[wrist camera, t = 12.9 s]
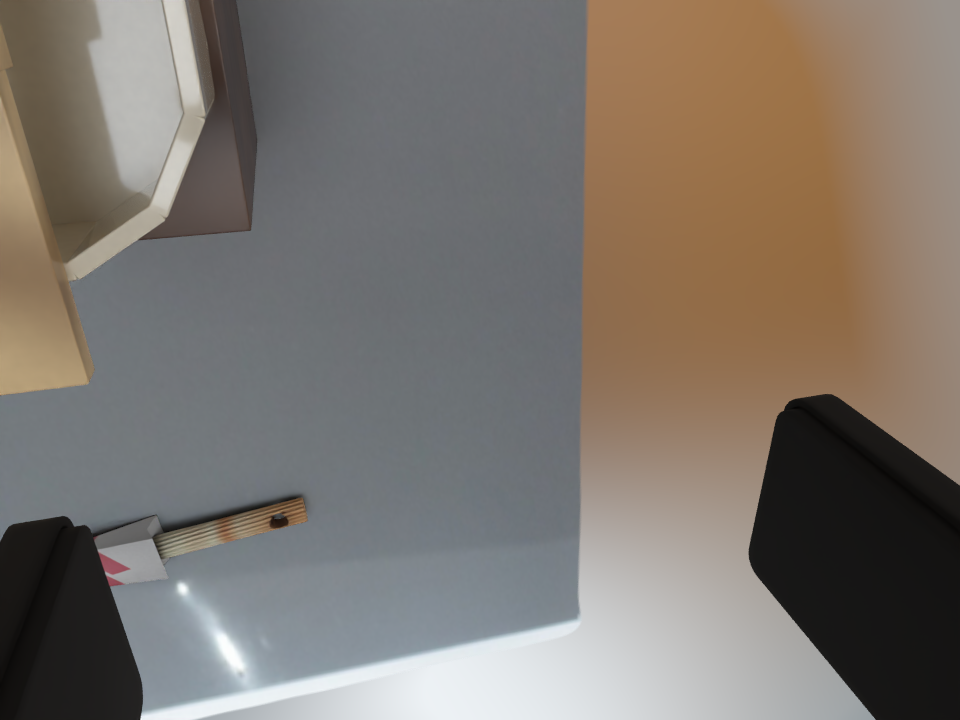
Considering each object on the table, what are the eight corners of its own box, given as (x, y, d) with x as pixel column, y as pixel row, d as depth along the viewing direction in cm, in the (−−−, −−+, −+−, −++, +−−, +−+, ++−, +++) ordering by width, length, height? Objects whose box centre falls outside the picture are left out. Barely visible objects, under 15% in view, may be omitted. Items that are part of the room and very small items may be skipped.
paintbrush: (-3, 577, 48) (302, 501, 52) (7, 550, 50) (298, 479, 54) (19, 618, 49) (312, 541, 54) (28, 590, 52) (308, 518, 56)
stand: (-73, -126, 34) (-360, -219, 18) (217, -121, 37) (181, -198, 21) (14, 156, 40) (-147, 265, 24) (257, 141, 43) (251, 231, 27)
